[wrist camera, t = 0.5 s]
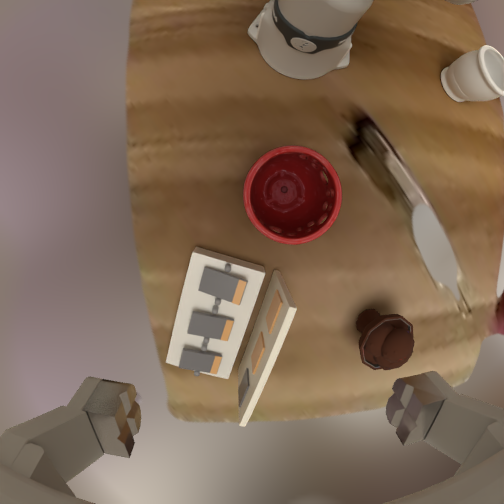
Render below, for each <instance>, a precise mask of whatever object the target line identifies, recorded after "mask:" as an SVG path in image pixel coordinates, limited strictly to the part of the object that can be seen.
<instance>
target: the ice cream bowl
mask: <svg viewBox="0 0 504 504" xmlns="http://www.w3.org/2000/svg"><path fill="white" fill-rule="evenodd" d="M356 326H357V330H359V331H360V332H362V335H361V337H360V339H359V349H360V355H361V360H362V363H363V364H365V365H367V366H369V367H370V368H372V369H374V370H376V369H384V370H391V369H394V368H399V367H401V366H402V365H403V364H405V363H406V362H407V361H408V359H409V358H410V356H411V355H412V352H413V347H414V340H413V325H412V324H411V323H410V322H408V321H407V320H406V319H405V318H404V317H402V316H401V315H398V314H391V315H381V316H380V314H379V313H378V312H377V311H376V310H375V309H369V310H365V311H364V312H363V313H361V314H360V315H359V317H358V319H357V321H356Z"/></svg>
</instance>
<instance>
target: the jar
mask: <svg viewBox="0 0 504 504" xmlns="http://www.w3.org/2000/svg"><path fill="white" fill-rule="evenodd" d="M441 82H442V85H443V88H444V90H445V91H446V93H447V94H448V95H449V96H450V97H451V98H452V99H453V100H455V101H457V102H463V101H465V100H467V101H489V100H493V99H496V98H498V97H500V96H504V58H503V56H502V55H501V54H500V53H499V52H498V51H497V50H496V49H495V48H493V47H491V46H488V45H485V46H482V47H481V48H480V49H479V50H475V51H471V52H468V53H466V54H464V55H462V56H460V57H459V58H458V59H457V60H456V61H454V62H453V63H452V64H451V65H450V66H449V67H446V68H444V69H443V70H442V72H441Z"/></svg>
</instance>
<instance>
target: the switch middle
mask: <svg viewBox="0 0 504 504" xmlns="http://www.w3.org/2000/svg"><path fill="white" fill-rule="evenodd" d="M233 324H234V319H232V318H227V317H221V316H216V315H211V314H206V313H201V312H197V311H192V315H191V319H190V322H189V326H188V330H187V334H192V335H197V336H202V337H208V338H213V339H219V340H223V341H228V339H229V336H230V333H231V330H232V327H233Z"/></svg>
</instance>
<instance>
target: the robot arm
mask: <svg viewBox="0 0 504 504" xmlns="http://www.w3.org/2000/svg"><path fill="white" fill-rule="evenodd" d="M445 1H447V2H450V3H452V4H456V5H462V4H468V3H472V2H474V1H477V0H445ZM372 3H373V0H270V1H269V3H266V4H265V6H264V9H263V10H262V11H261V13H260V14H259V15H258V16H257V18H256V19H255V20H254V22H253V23H252V24H251V25H250V27H249V29H248V35H249V36H250V37H251V38H252V39H253V40H254V41H255V42H256V43H257V45H258V47H259V50H260V53H261V55H262V57H263V58H264V60H265V61H266V62H267V63H268V64H269V65H270V66H271V67H272V68H273V69H274V70H276V71H277V72H279V73H281V74H283V75H285V76H288V77H291V78H296V79H314V78H318V77H321V76H323V75H325V74H326V73H328V72H329V71H331V70H334V69H342V68H346V67H347V66H348V64H349V55H350V49H351V47H352V43H351V35H352V34H353V32H354V30H355V28H356V26H357V22H358V21H359V19H360V18H361V17H362V16H363V15H364V13H365V12H366V11H367V10H368V9H369V8H370V6H371V5H372ZM256 26H258V28H257V27H256ZM392 389H393V391H394V394H393V395H392V396H391V397H390V398H389V399H388V402H387V405H386V415H387V419H388V420H389V423H390V424H391V425H393V426H395V427H397V429H396V434H397V436H398V438H399V439H400V441H401V443H402V444H403V446H405V445H408V444H412V443H416V442H419V441H422V440H424V441H425V442H426V443H428V444H429V445H431V446H433V447H434V448H436V449H437V450H439V451H440V452H442V453H444V454H445V455H447V456H449V457H450V458H452V459H454V460H455V461H457V462H459V463H461V464H462V465H461V466H460V468H459V469H458V470H457V472H456V473H455V476H454V477H452V478H449V479H447V480H445V481H443V482H441V483H438V484H436V485H434V486H431V487H429V488H427V489H424V490H421V491H419V492H416V493H414V494H411V495H408V496H405V497H402V498H400V499H396V500H393V501H390V502H387V503H384V504H504V409H503V408H500V407H497V406H494V405H491V404H488V403H485V402H483V401H480V400H477V399H474V398H471V397H469V396H466V395H463V394H461V395H459V394H457V392H455V390H454V389H453V388H452V387H451V386H450V385H449V384H448V383H447V382H446V381H445V380H444V379H443V378H442V377H441V376H440V375H439V374H438V373H437V372H435V371H430V372H426V373H422V374H419V375H414V376H409V377H404V378H399V379H397V380H396V381H395V382H394V385H393V388H392ZM136 395H137V393H136V390H135V387H134V385H132V384H129V383H123V382H117V381H111V380H106V379H100V378H94V377H87V378H86V379H85V380H84V382H83V383H82V385H81V386H80V388H79V389H78V390H77V392H76V393H75V395H74V396H73V398H72V399H71V401H70V402H69V404H68V405H67V407H66V406H60V407H58V408H56V409H54V410H52V411H50V412H47V413H45V414H42V415H40V416H38V417H36V418H33V419H31V420H28V421H26V422H24V423H21V424H19V425H17V426H14V427H12V428H9V429H7V430H5V432H4V433H3V434H2V435H1V437H0V504H95V503H91V502H88V501H85V500H82V499H79V498H76V496H75V495H74V493H73V492H72V490H71V489H70V488H69V487H68V485H67V484H66V483H67V482H68V481H69V480H71V479H72V478H73V477H75V476H76V475H78V474H79V473H80V472H81V471H83V470H84V469H85V468H87V467H88V466H90V465H91V464H92V463H93V462H95V461H96V460H97V459H99V458H100V457H101V456H102V455H104V453H106V454H111V455H116V456H121V457H127V458H130V456H131V452H132V450H133V447H134V443H135V442H134V439H133V436H134V435H135V434H137V433H138V432H139V429H140V424H141V410H140V406H139V404H138V403H137V402H136V401H135V398H136Z"/></svg>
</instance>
